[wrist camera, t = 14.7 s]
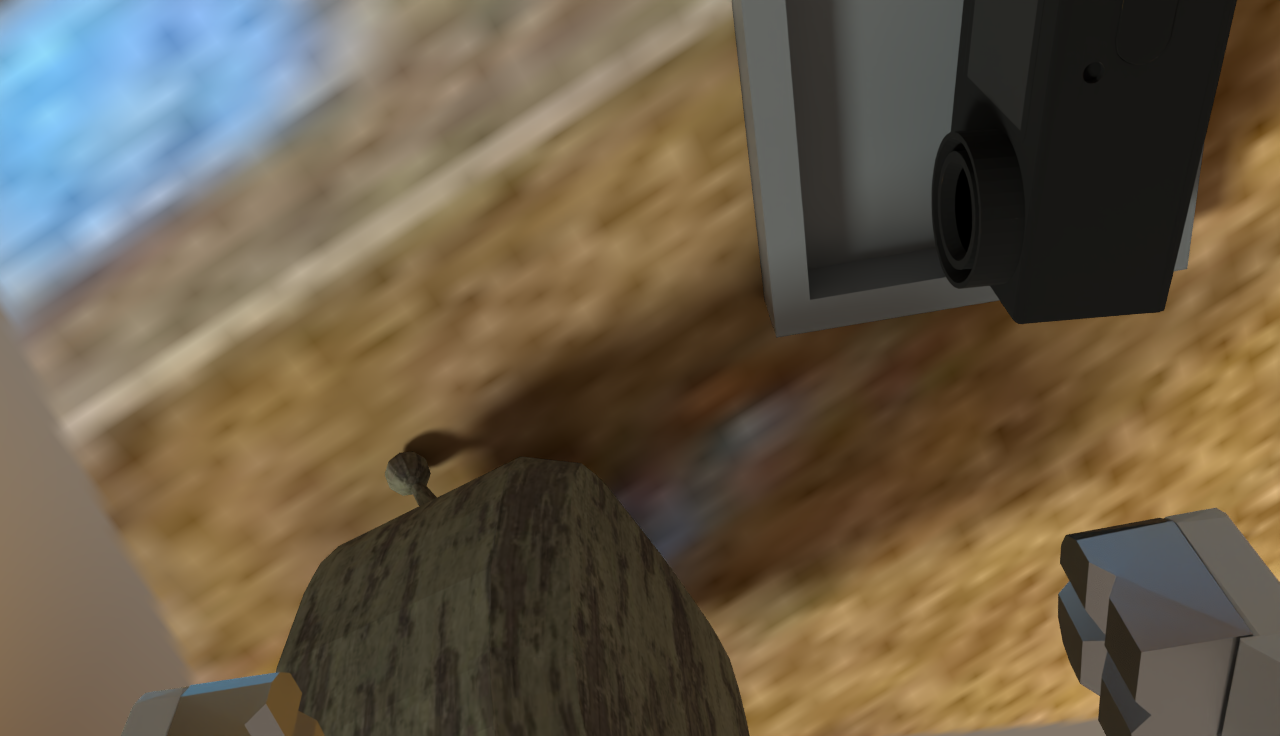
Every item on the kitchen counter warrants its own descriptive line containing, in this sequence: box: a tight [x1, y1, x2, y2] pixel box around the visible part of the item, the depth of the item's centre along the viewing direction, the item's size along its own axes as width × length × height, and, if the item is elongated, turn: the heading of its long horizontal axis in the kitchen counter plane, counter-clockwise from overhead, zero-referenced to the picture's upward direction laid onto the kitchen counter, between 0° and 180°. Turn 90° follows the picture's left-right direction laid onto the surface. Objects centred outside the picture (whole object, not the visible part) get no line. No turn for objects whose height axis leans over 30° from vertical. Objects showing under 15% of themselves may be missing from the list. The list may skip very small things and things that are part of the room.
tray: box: [732, 0, 1204, 337], centre depth 32 cm, size 15×13×2 cm
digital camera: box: [931, 0, 1237, 324], centre depth 30 cm, size 10×5×7 cm, turn 4°
